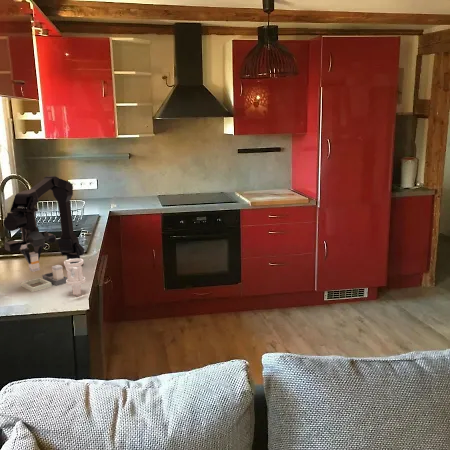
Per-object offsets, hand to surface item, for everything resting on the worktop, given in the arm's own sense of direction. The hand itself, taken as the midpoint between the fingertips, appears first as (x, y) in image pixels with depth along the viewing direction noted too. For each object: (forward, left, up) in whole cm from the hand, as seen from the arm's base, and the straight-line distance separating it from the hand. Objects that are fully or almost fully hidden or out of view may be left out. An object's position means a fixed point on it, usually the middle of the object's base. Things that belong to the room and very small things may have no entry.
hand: (33, 262), depth 199 cm
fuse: (+3, +8, -10) cm, 13 cm away
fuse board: (0, +8, -11) cm, 13 cm away
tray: (0, 0, -11) cm, 11 cm away
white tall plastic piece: (+21, +7, -11) cm, 24 cm away
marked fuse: (0, 0, -3) cm, 3 cm away
